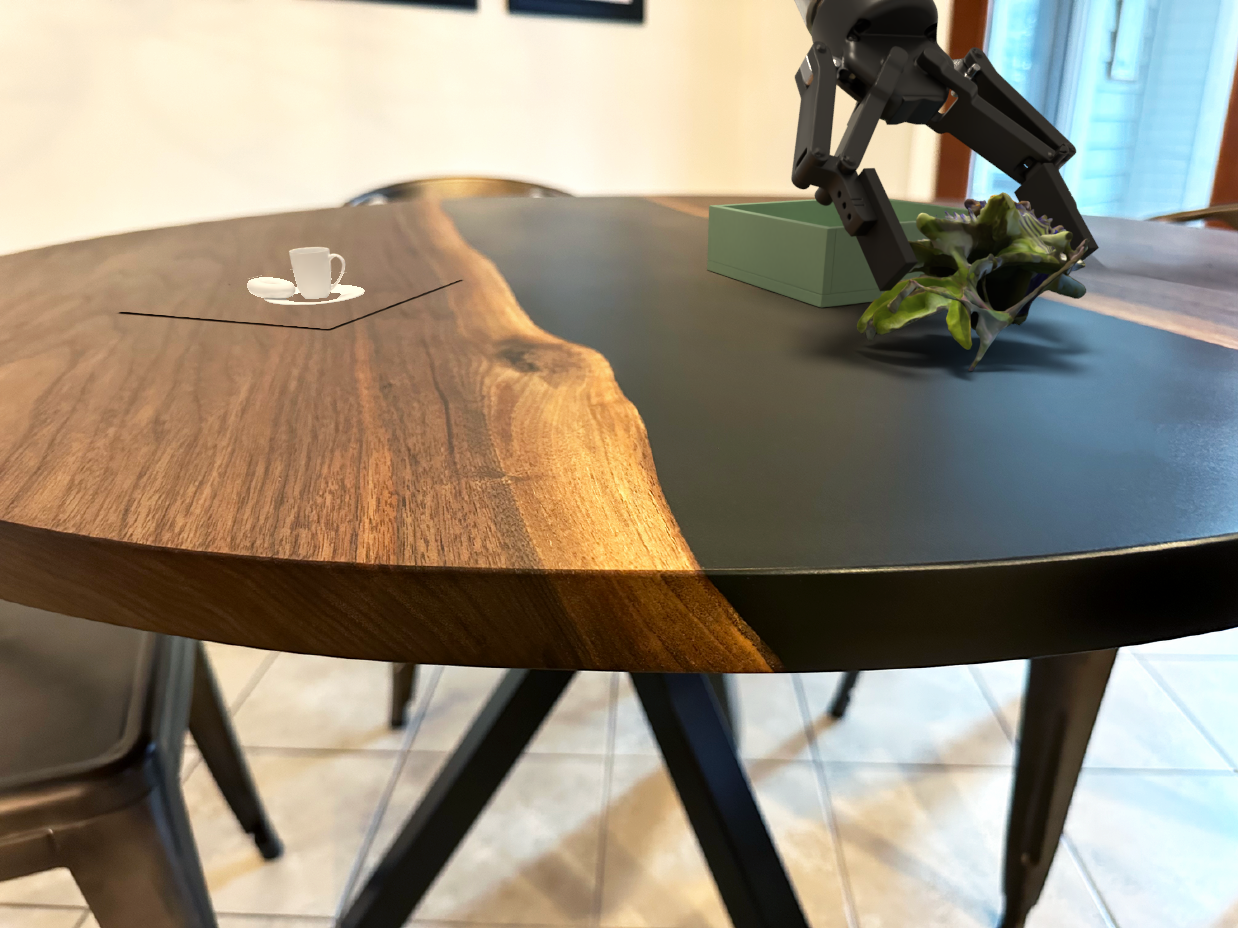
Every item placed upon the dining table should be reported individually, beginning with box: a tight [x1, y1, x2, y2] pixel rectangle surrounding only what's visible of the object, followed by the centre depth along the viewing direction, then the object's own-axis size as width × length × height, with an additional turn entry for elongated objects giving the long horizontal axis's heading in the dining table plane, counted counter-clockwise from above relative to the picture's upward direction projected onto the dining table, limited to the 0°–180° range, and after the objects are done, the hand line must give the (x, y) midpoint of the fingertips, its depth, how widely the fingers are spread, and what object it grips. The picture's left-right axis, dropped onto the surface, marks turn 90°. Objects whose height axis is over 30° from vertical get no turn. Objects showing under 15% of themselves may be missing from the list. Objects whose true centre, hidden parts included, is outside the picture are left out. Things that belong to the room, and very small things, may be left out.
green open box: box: [706, 198, 980, 309], centre depth 75 cm, size 19×19×6 cm
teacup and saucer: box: [247, 246, 365, 305], centre depth 69 cm, size 9×8×4 cm
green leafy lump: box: [856, 191, 1090, 372], centre depth 51 cm, size 11×11×12 cm
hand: (993, 270), depth 49 cm, fingers closed on green leafy lump, 13 cm apart
